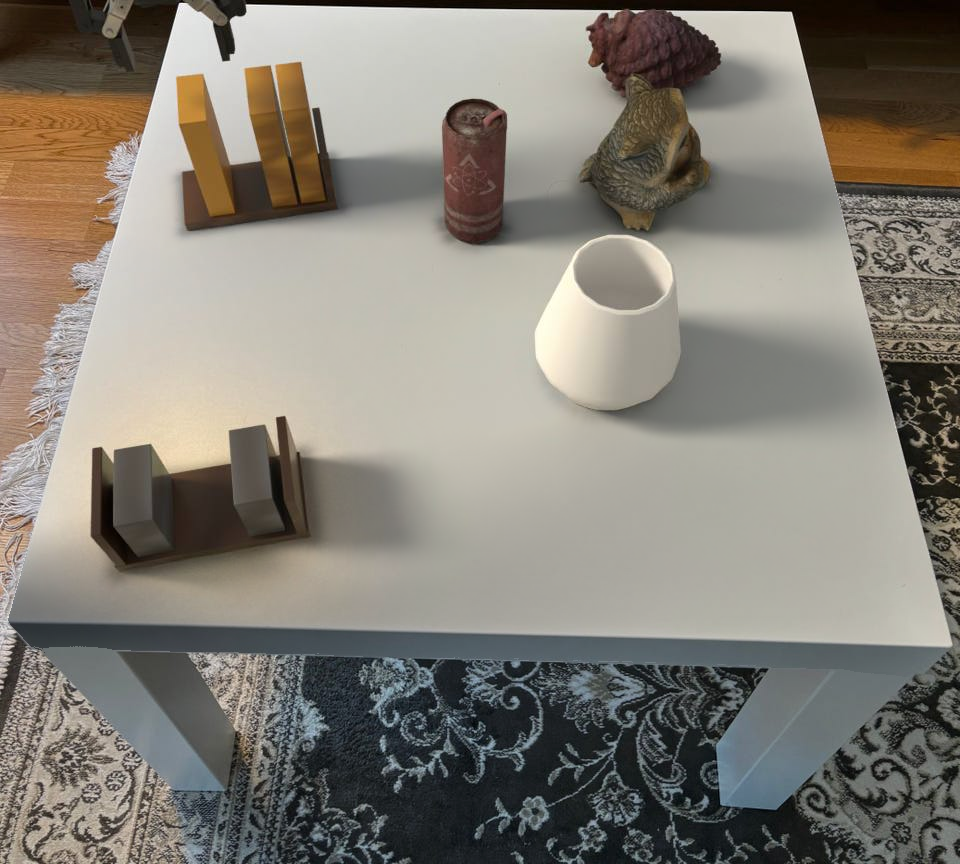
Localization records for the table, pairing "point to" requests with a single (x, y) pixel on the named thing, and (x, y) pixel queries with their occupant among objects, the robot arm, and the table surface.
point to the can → (474, 169)
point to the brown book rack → (198, 501)
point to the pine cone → (651, 49)
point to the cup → (612, 325)
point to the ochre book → (205, 144)
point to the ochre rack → (273, 156)
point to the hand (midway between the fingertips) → (178, 61)
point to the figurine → (647, 155)
